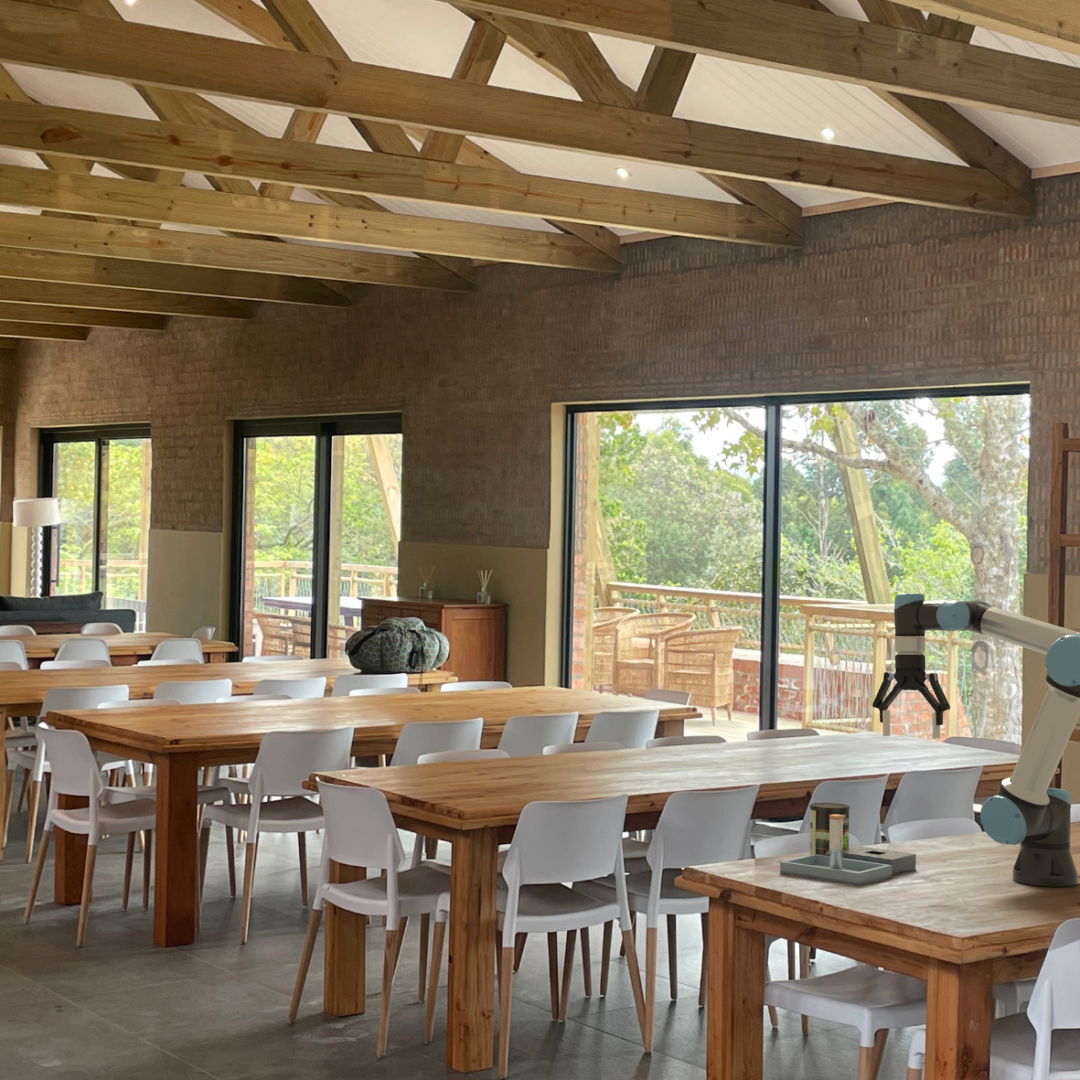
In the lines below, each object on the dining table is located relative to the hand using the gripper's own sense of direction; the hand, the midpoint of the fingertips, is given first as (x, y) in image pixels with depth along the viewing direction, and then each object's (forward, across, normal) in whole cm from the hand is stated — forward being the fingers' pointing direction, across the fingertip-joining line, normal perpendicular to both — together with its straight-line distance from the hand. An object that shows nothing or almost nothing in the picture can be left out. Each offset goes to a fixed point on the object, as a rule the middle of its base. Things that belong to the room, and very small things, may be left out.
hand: (911, 737), depth 379 cm
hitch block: (+33, +8, +5) cm, 35 cm away
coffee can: (+33, +24, 0) cm, 41 cm away
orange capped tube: (+32, +10, +21) cm, 40 cm away
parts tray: (+33, +11, +21) cm, 41 cm away
